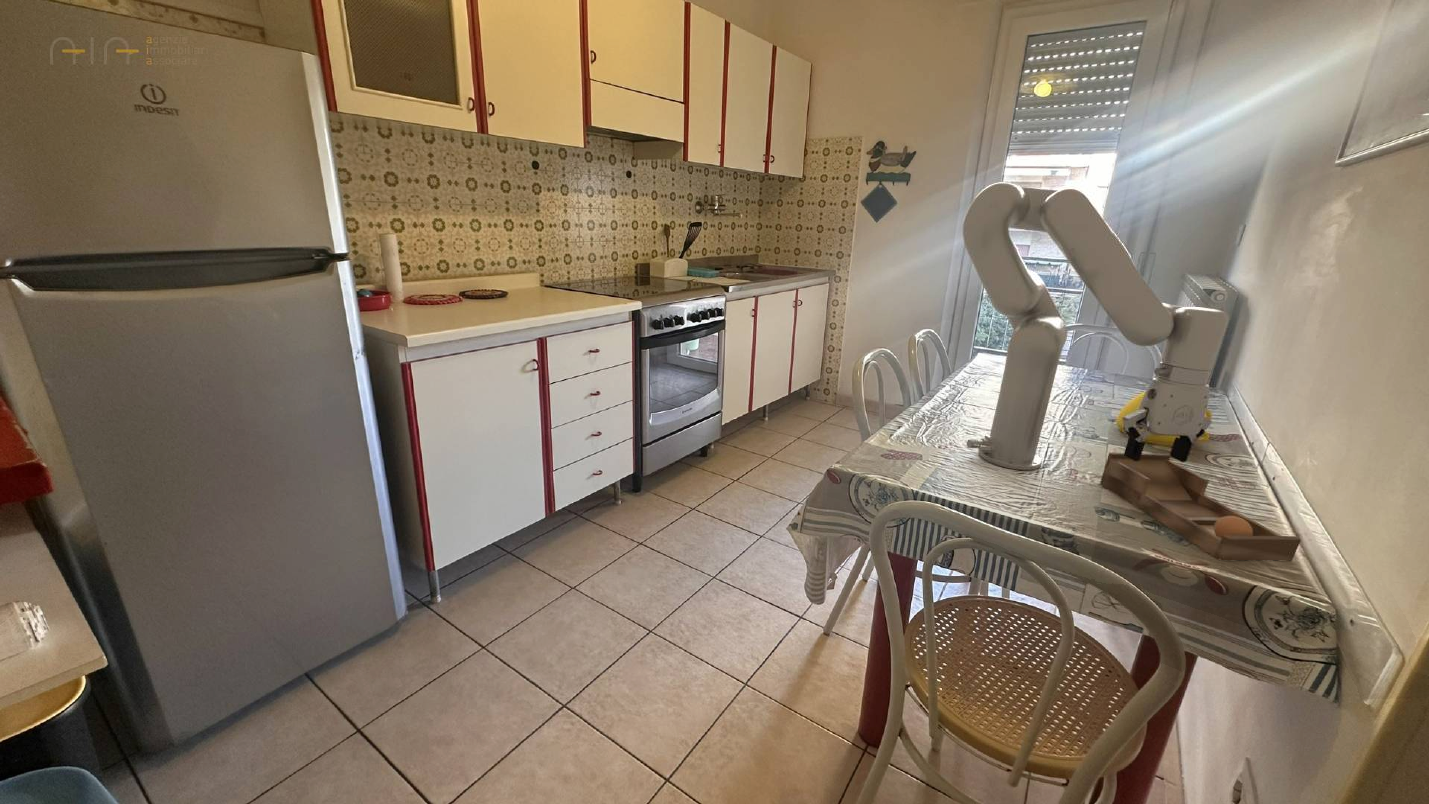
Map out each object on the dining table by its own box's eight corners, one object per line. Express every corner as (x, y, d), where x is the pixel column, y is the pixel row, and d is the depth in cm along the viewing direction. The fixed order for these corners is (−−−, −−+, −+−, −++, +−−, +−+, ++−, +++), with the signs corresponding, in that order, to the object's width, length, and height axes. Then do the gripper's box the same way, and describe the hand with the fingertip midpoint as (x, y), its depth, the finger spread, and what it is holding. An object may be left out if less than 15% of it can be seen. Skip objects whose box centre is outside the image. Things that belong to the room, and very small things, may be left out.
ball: (1202, 517, 97) (1210, 545, 95) (1229, 514, 92) (1237, 544, 91) (1228, 517, 97) (1236, 546, 96) (1256, 514, 93) (1264, 544, 91)
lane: (1099, 483, 115) (1109, 452, 113) (1156, 484, 116) (1167, 453, 114) (1220, 560, 90) (1235, 522, 87) (1291, 560, 91) (1308, 523, 88)
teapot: (1120, 420, 155) (1133, 376, 151) (1207, 441, 143) (1224, 393, 139) (1105, 437, 141) (1119, 389, 137) (1200, 462, 129) (1219, 410, 125)
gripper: (1155, 379, 100) (1127, 466, 105) (1244, 382, 101) (1212, 467, 107) (1123, 368, 107) (1099, 450, 112) (1207, 370, 108) (1179, 451, 114)
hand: (1154, 458), depth 110 cm, fingers open, 9 cm apart
